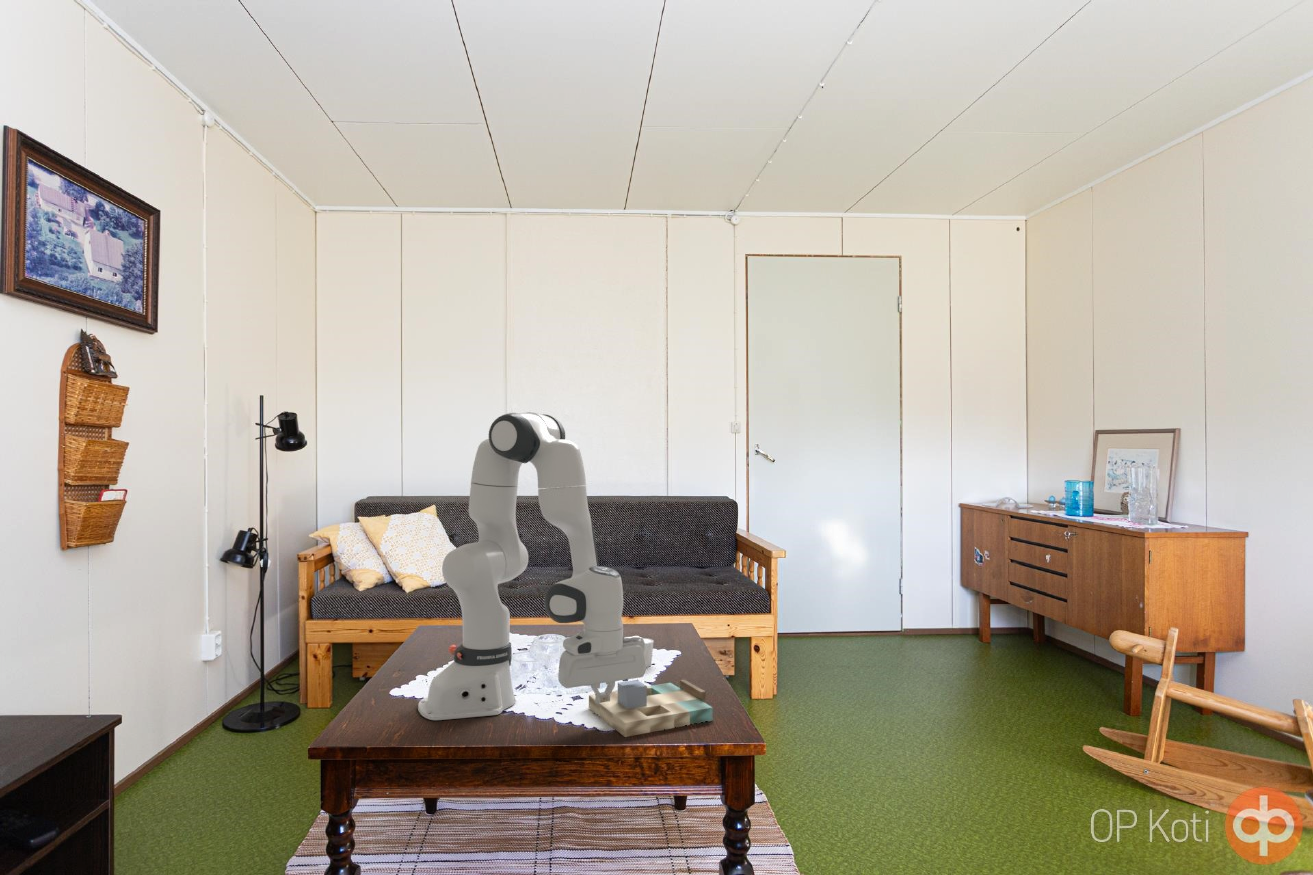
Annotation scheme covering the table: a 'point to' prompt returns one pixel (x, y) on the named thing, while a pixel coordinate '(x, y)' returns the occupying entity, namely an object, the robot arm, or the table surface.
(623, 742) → the table surface
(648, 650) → the shot glass
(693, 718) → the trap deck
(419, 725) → the table surface
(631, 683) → the slate block
